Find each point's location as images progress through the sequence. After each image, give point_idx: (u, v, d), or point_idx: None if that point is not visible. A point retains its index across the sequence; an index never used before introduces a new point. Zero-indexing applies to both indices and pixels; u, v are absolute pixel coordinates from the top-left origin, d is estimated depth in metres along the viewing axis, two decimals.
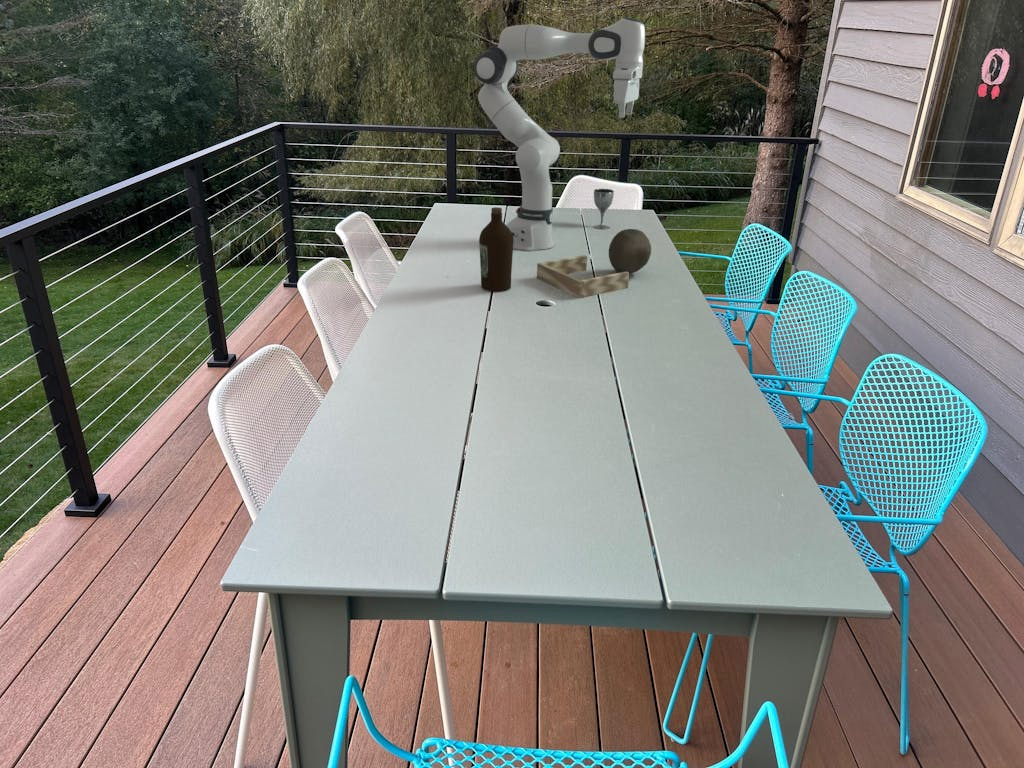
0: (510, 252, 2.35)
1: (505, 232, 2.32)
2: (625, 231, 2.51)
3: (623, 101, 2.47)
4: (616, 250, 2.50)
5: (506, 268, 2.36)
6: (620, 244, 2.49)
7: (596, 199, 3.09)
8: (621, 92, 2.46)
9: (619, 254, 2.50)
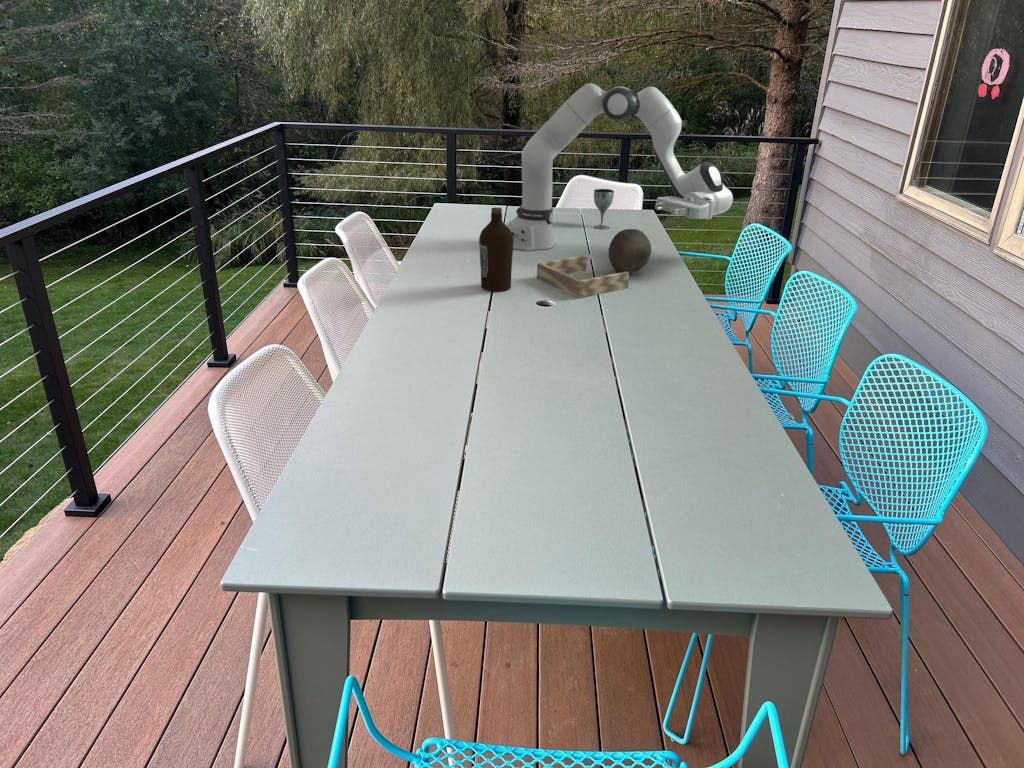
0: (510, 252, 2.35)
1: (505, 232, 2.32)
2: (625, 231, 2.51)
3: (697, 217, 2.52)
4: (616, 250, 2.50)
5: (506, 268, 2.36)
6: (620, 244, 2.49)
7: (596, 199, 3.09)
8: (703, 214, 2.53)
9: (619, 254, 2.50)
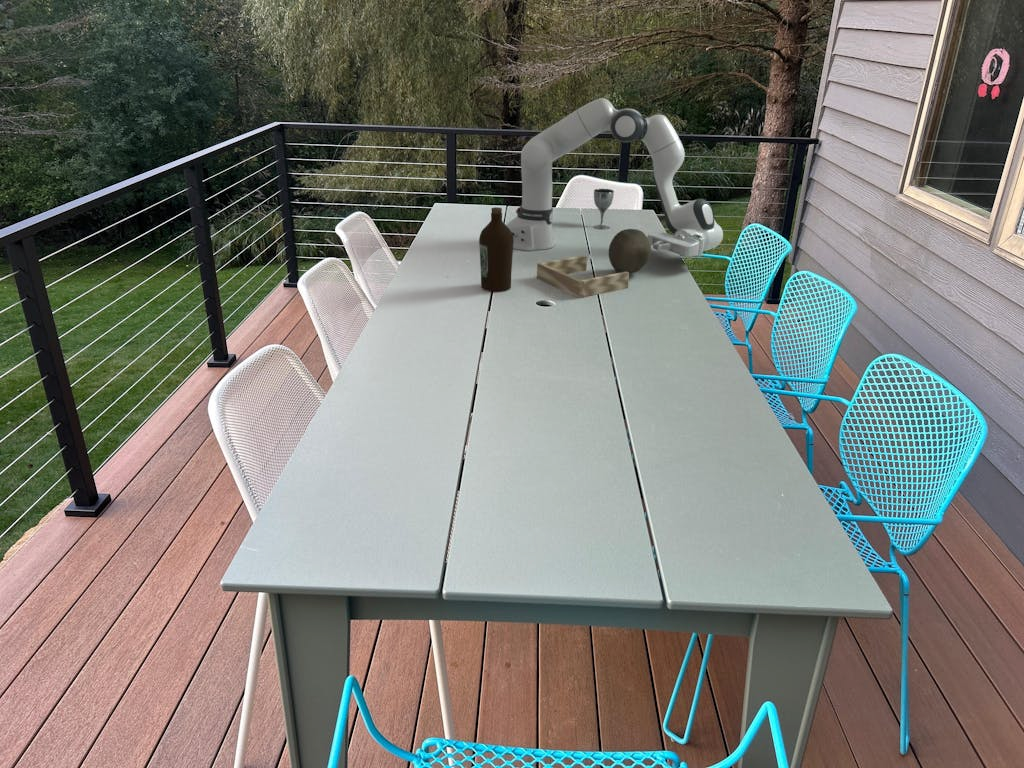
0: (510, 252, 2.35)
1: (505, 232, 2.32)
2: (625, 231, 2.51)
3: (687, 255, 2.56)
4: (616, 250, 2.50)
5: (506, 268, 2.36)
6: (620, 244, 2.49)
7: (596, 199, 3.09)
8: (694, 252, 2.57)
9: (619, 254, 2.50)
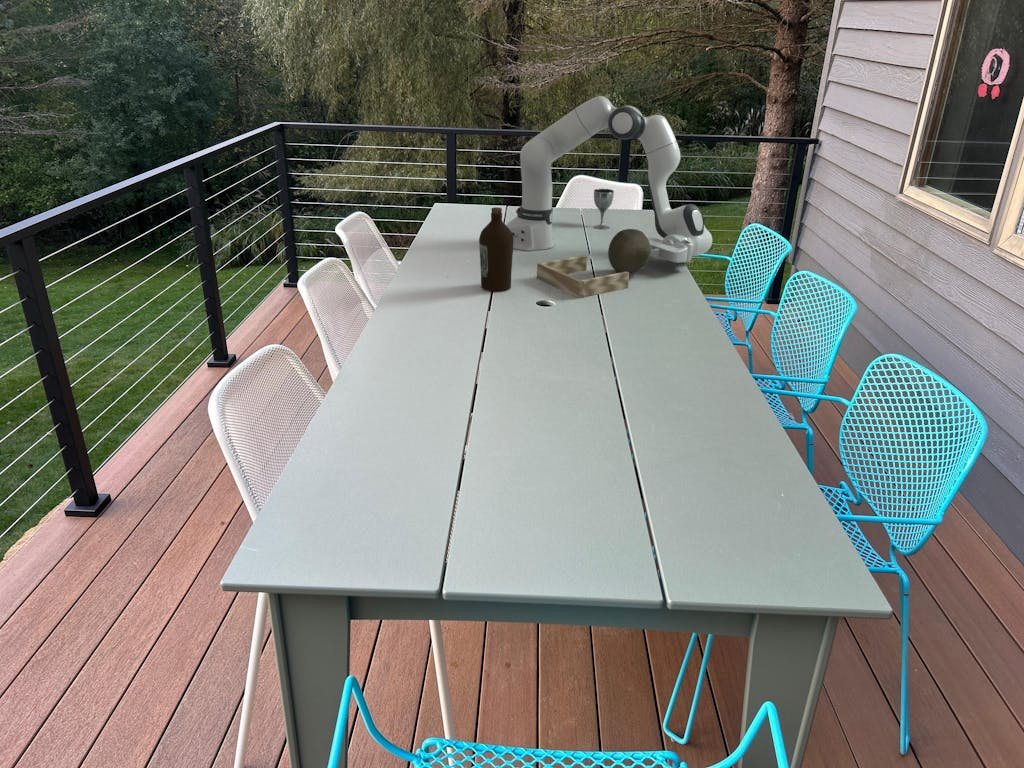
0: (510, 252, 2.35)
1: (505, 232, 2.32)
2: (625, 231, 2.51)
3: (675, 261, 2.54)
4: (616, 250, 2.50)
5: (506, 268, 2.36)
6: (620, 244, 2.49)
7: (596, 199, 3.09)
8: (682, 258, 2.56)
9: (618, 254, 2.50)
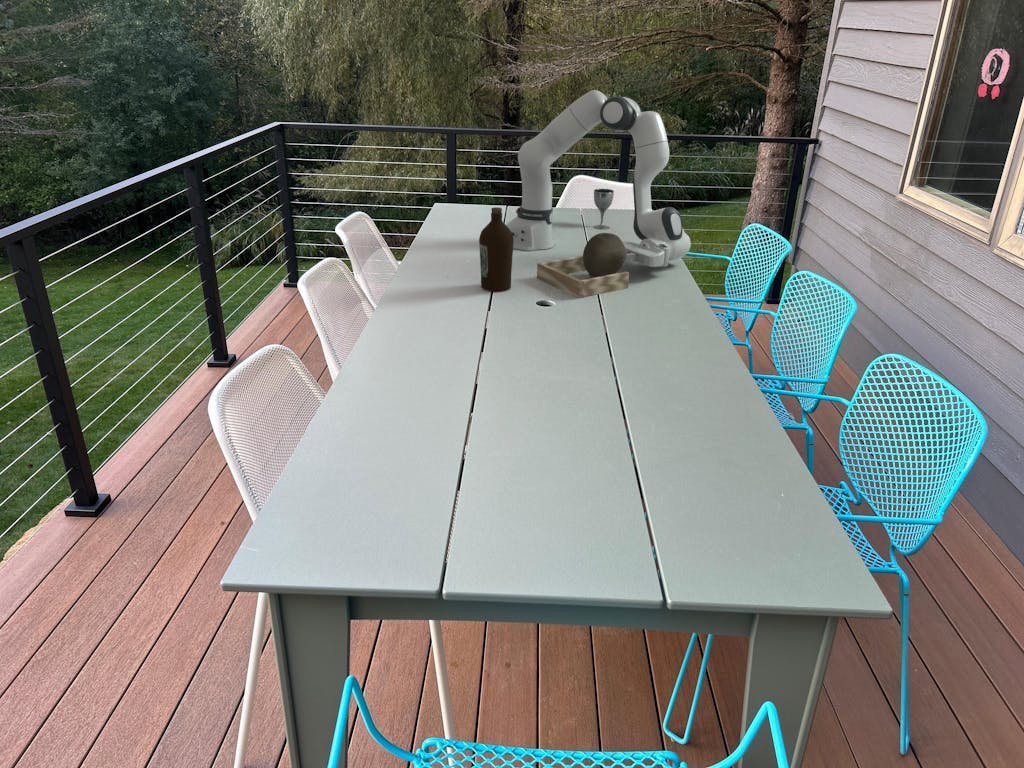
0: (510, 252, 2.35)
1: (505, 232, 2.32)
2: (599, 235, 2.45)
3: (652, 266, 2.49)
4: (590, 254, 2.45)
5: (506, 268, 2.36)
6: (594, 249, 2.43)
7: (596, 199, 3.09)
8: (658, 262, 2.50)
9: (592, 259, 2.44)
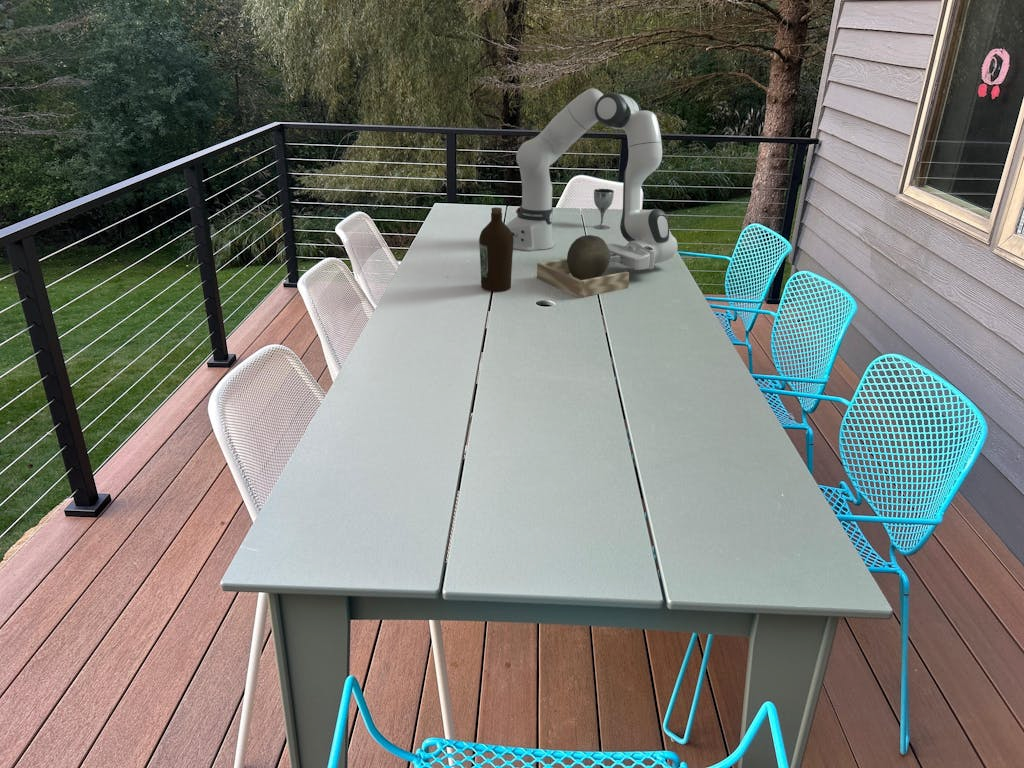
0: (510, 252, 2.35)
1: (505, 232, 2.32)
2: (583, 237, 2.42)
3: (637, 268, 2.46)
4: (573, 257, 2.42)
5: (506, 268, 2.36)
6: (577, 251, 2.40)
7: (596, 199, 3.09)
8: (644, 265, 2.47)
9: (575, 261, 2.41)
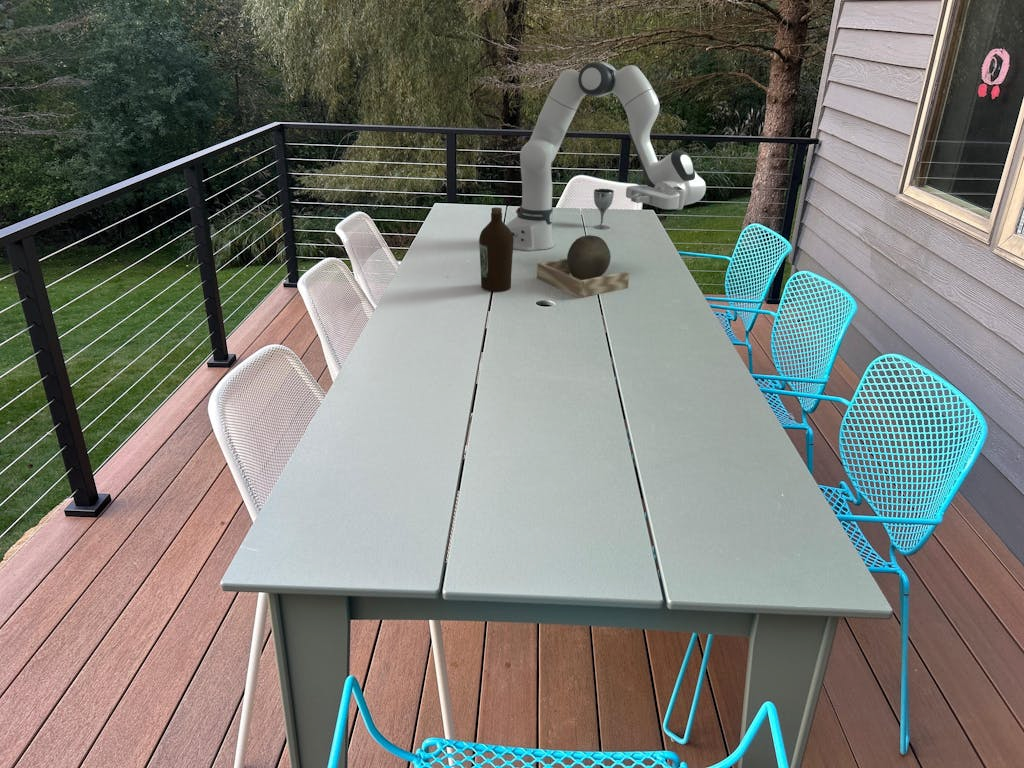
0: (510, 252, 2.35)
1: (505, 232, 2.32)
2: (583, 237, 2.42)
3: (667, 208, 2.44)
4: (573, 257, 2.42)
5: (506, 268, 2.36)
6: (577, 251, 2.40)
7: (596, 199, 3.09)
8: (673, 204, 2.45)
9: (575, 261, 2.41)
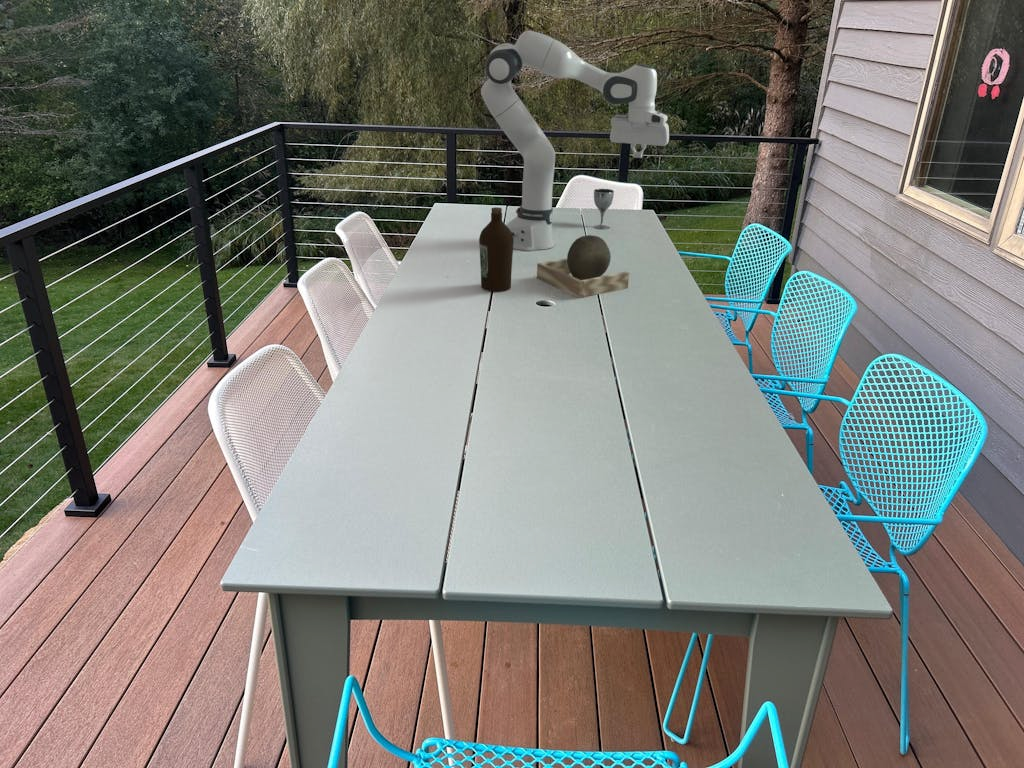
0: (510, 252, 2.35)
1: (505, 232, 2.32)
2: (583, 237, 2.42)
3: None
4: (573, 257, 2.42)
5: (506, 268, 2.36)
6: (577, 251, 2.40)
7: (596, 199, 3.09)
8: (668, 134, 2.61)
9: (575, 261, 2.41)
